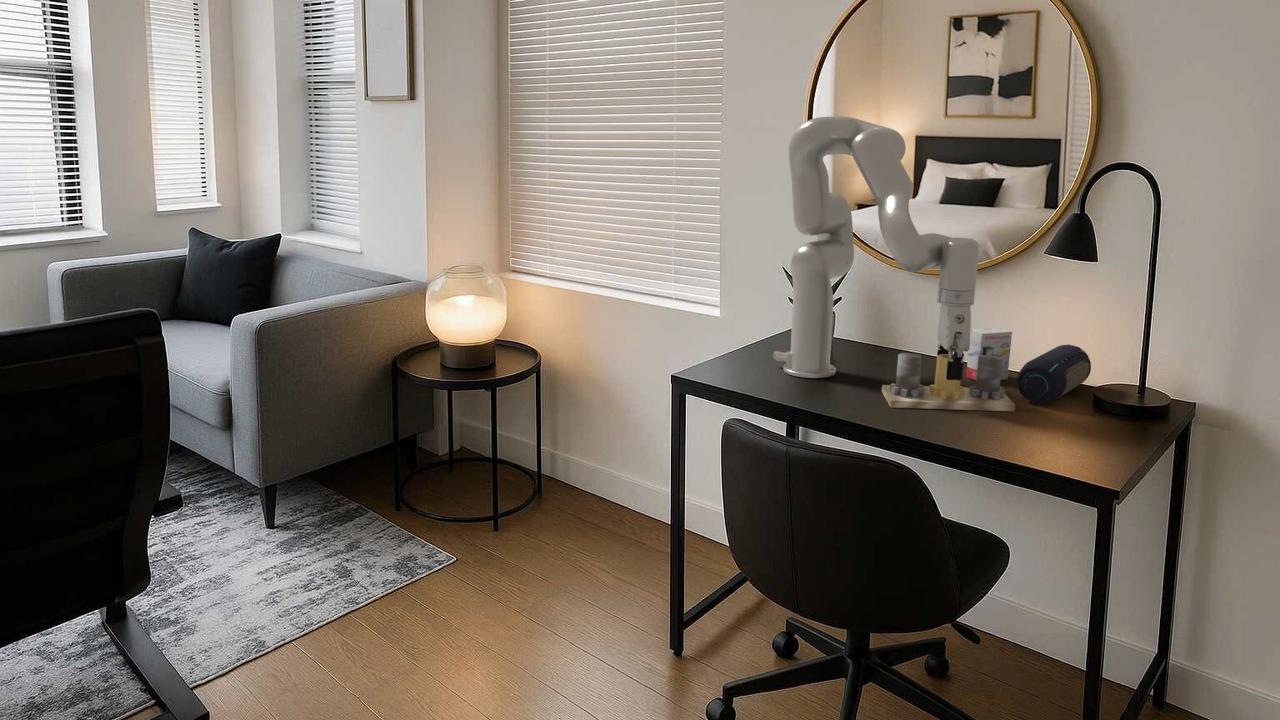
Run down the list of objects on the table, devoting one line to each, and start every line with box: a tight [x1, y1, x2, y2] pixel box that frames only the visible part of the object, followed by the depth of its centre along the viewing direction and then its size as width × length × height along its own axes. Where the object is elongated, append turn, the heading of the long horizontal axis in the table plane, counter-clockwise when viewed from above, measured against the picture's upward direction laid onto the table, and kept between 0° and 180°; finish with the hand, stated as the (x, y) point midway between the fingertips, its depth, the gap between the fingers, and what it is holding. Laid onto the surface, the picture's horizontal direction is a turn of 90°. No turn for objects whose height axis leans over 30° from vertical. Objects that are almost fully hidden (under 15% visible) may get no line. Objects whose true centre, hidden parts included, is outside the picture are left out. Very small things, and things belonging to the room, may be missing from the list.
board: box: [881, 352, 1016, 412], centre depth 212 cm, size 26×12×10 cm, turn 85°
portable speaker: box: [1016, 344, 1092, 404], centre depth 218 cm, size 25×10×10 cm, turn 139°
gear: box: [929, 353, 965, 399], centre depth 212 cm, size 7×7×8 cm
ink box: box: [965, 327, 1013, 381], centre depth 230 cm, size 9×5×12 cm, turn 107°
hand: (948, 373), depth 212 cm, fingers open, 9 cm apart
